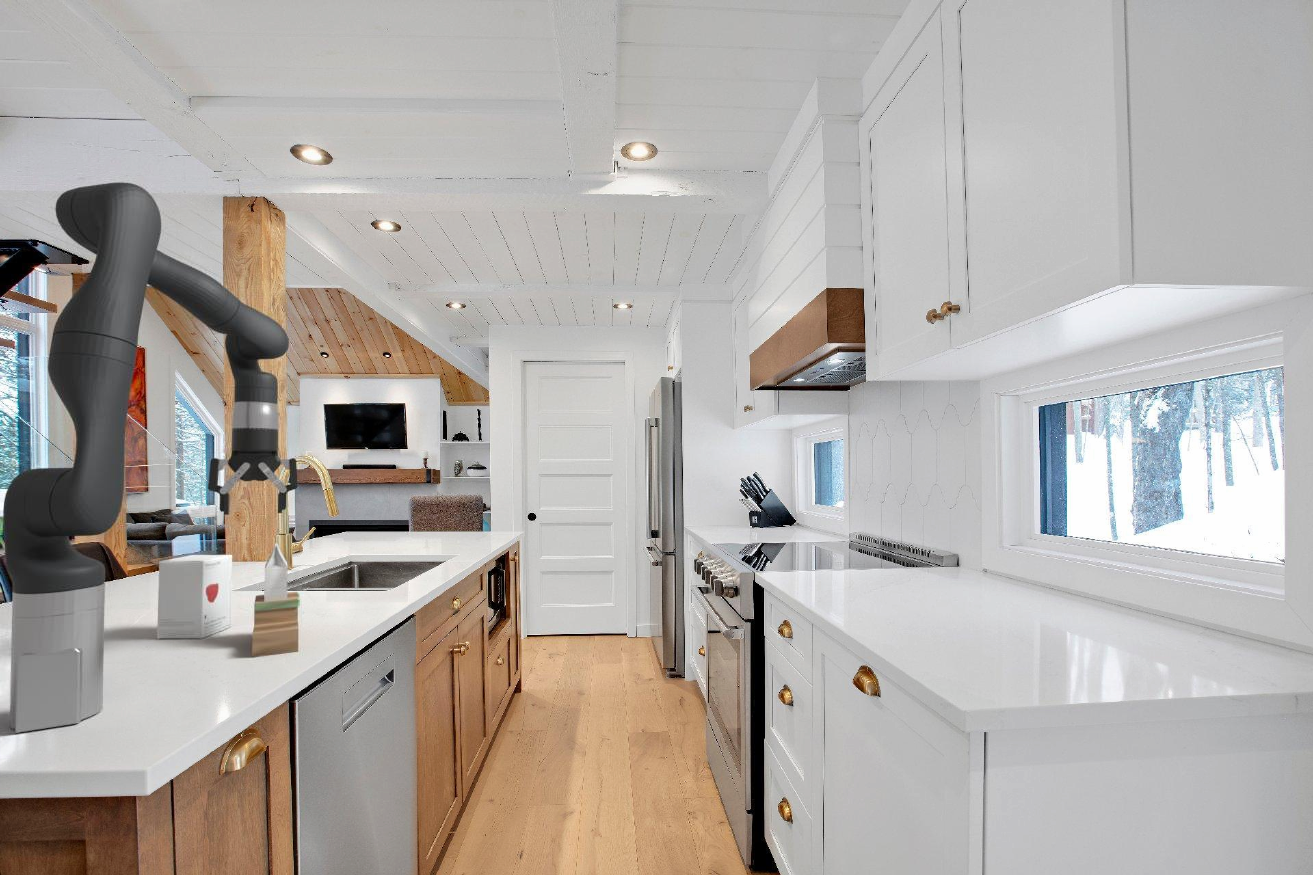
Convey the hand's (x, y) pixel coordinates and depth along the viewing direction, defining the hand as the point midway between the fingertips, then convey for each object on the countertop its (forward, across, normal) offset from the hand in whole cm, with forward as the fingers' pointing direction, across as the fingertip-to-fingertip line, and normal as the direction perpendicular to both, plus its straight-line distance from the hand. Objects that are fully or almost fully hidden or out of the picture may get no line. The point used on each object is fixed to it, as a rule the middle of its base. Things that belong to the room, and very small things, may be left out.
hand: (253, 513), depth 124 cm
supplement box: (+24, -10, +15) cm, 30 cm away
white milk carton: (+16, +4, +1) cm, 17 cm away
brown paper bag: (+24, +4, -2) cm, 25 cm away
